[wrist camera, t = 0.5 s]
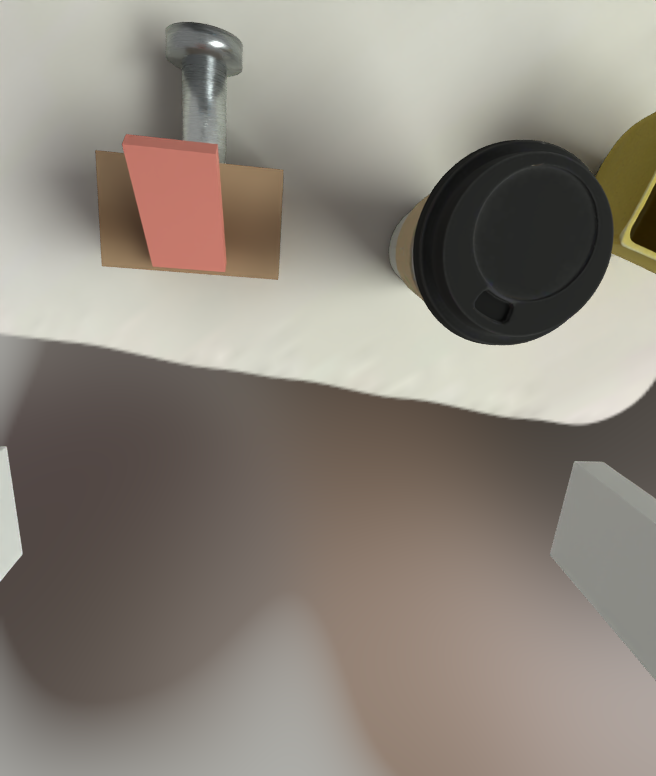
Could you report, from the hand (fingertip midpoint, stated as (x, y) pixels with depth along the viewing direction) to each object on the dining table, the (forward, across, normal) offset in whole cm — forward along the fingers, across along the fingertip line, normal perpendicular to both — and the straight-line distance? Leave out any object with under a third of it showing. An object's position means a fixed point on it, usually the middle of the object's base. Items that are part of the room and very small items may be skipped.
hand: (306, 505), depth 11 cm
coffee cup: (+26, +10, +6) cm, 28 cm away
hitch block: (+26, -6, +6) cm, 27 cm away
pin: (+26, -6, +11) cm, 28 cm away
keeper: (+16, -6, +7) cm, 19 cm away
